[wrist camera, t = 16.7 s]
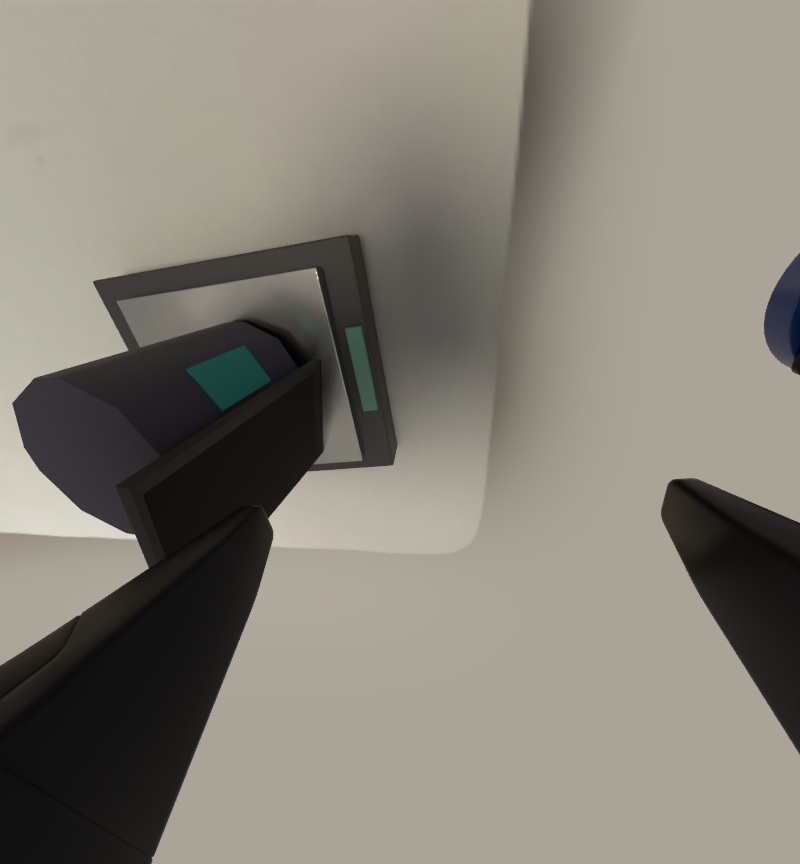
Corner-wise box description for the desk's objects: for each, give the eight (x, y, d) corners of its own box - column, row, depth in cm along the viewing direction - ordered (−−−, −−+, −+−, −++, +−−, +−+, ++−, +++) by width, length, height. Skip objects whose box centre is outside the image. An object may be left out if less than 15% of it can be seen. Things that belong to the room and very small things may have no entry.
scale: (358, 234, 17) (344, 234, 14) (397, 446, 23) (392, 473, 20) (126, 276, 19) (76, 283, 16) (214, 461, 25) (188, 487, 22)
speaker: (359, 366, 17) (218, 516, 8) (323, 453, 20) (192, 630, 11) (214, 291, 16) (-101, 359, 8) (200, 390, 19) (-37, 522, 11)
